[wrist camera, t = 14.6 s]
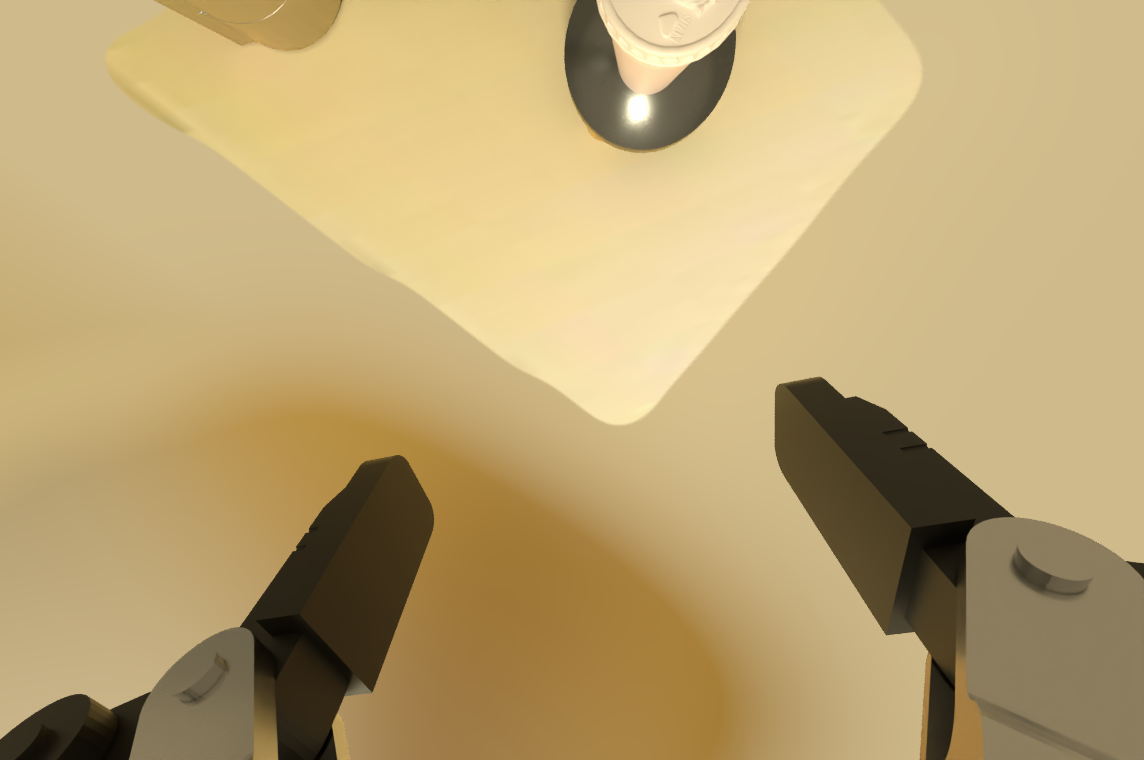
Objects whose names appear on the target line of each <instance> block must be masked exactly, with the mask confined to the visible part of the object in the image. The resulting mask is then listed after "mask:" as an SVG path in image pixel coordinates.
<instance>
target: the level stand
mask: <svg viewBox="0 0 1144 760" xmlns="http://www.w3.org/2000/svg"><path fill="white" fill-rule="evenodd" d="M735 45H736V31H735V29H734V30H733V31H732V32H731V33H730V34H729V35H728V37H727V38H726V39H725V40H724V41H723V42H722V43H721V44H720V46H719V47H717V48H716V49H714V50H713V51H711V52H710V53H709V54H707V55H706V56H704V57H703V58H701V59H700V60H697V61H694V62H691V63H690V64H689V65H688V66H687V67H686V68H685V69H684V70H683V71H682V72H681V73H680V74H679V75H678V76H677V77H676V78H675V79H674V80H673V81H672V82H671V83H670V84H669V85H668V86H667V87H666V88H664V89H663V90H661V91H660V92H657V93H655V94H650V95H643V94H639V93H636V92H634V91H632V90H631V89H630V88H628V87H627V85H626V84H625V83H624V82H623V80H622V78H621V76H620V73H619V69H618V64H617V60H616V55H615V50H614V46H613V41H612V37H611V36H610V34H609V33H608V30H607V28H606V26H605V24H604V22H603V20H602V18H601V16H600V13H599V10H598V5H597V0H577V2H576V4H575V6H574V9H573V11H572V14H571V17H570V20H569V24H568V28H567V33H566V40H565V58H564V60H565V71H566V77H567V82H568V87H569V91H570V94H571V97H572V100H573V103H574V105H575V107H576V110H577V112H578V114H579V115H580V117H581V118H582V120H583V122H584V123H585V124H586V125H587V128H588V130H589V132H590V134H591V135H592V136H593V137H594V138H596V139H597V140H600V141H604V142H606V143H607V144H609V145H611V146H613V147H615V148H618V149H621V150H624V151H629V152H636V153H646V152H654V151H658V150H662V149H665V148H668V147H670V146H672V145H675V144H676V143H678V142H680V141H681V140H683V139H685V138H686V137H687V136H688V135H690V134H691V133H692V132H693V131H694V130H695V129H696V128H697V127H698V126H699V125H700V124H701V123H702V122H703V121H704V120H705V119H706V118H707V117H708V116H709V114H710V113H711V112H712V111H713V109H714V108H715V106H716V105H717V103H718V101H719V100H720V98H721V96H722V94H723V92H724V90H725V88H726V85H727V83H728V80H729V77H730V74H731V70H732V66H733V62H734V55H735Z"/></svg>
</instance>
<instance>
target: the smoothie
mask: <svg viewBox="0 0 1144 760" xmlns="http://www.w3.org/2000/svg"><path fill="white" fill-rule="evenodd" d="M749 1H750V0H597V5H598V10H599V13H600V16H601V18H602V20H603V22H604V24H605V26H606V28H607V30H608V33H609V34H610V36H611V37H612V41H613V46H614V50H615V55H616V60H617V64H618V69H619V73H620V76H621V78H622V80H623V82H624V83H625V84H626V85H627V87H628V88H630V89H631V90H632V91H634V92H636V93H639V94H643V95H650V94H655V93H657V92H660V91H661V90H663V89H664V88H666V87H667V86H668V85H669V84H670V83H671V82H672V81H673V80H674V79H675V78H676V77H677V76H678V75H679V74H680V73H681V72H682V71H683V70H684V69H685V68H686V67H687V66H688V65H689V64H690V63H691V62H694V61H697V60H700V59H701V58H703V57H704V56H706V55H707V54H709V53H710V52H711V51H713V50H714V49H716V48H717V47H719V46H720V44H721V43H722V42H723V41H724V40H725V39H726V38H727V37H728V35H729V34H730V33H731V32H732V31H733V30H734V29H735V27H736V26H737V24H738V22H739V20H740V18H741V17H742V15H743V13H744V11H745V10H746V8H747V6H748V4H749Z"/></svg>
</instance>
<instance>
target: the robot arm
mask: <svg viewBox="0 0 1144 760" xmlns="http://www.w3.org/2000/svg"><path fill="white" fill-rule="evenodd" d="M154 1H156V2H158V3H160V4H162V5H164V6H166V7H168V8H170V9H172V10H174V11H176V12H177V13H179V14H181V15H183V16H185V17H187V18H189V19H191V20H193V21H195V22H197V23H199V24H201V25H203V26H205V27H206V28H208V29H210V30H212V31H214V32H216V33H218V34H220V35H222V36H224V37H226V38H228V39H230V40H232V41H233V42H235V43H237V44H239V45H245V44H247V43H249V42H257V43H260V44H263V45H265V46H268V47H271V48H273V49H279V50H286V51H289V50H297V49H302V48H305V47H307V46H309V45H312V44H314V43H315V42H316V41H317V40H319V39H320V38H321V37H322V36H324V35H325V33H326V32H327V31H328V29H329V28H330V26H331V25H332V24H333V22H334V20H335V17H336V15H337V13H338V10H339V8H340V3H341V0H154ZM775 451H776V456H777V460H778V463H779V466H780V469H781V471H782V473H783V474H784V476H785V478H786V480H787V481H788V483H789V484H790V486H791V487H792V489H793V491H794V492H795V493H796V495H797V497H798V498H799V500H800V501H801V503H802V504H803V506H804V508H805V509H806V511H807V512H808V514H809V516H810V517H811V519H812V520H813V522H814V523H815V525H816V526H817V528H818V530H819V531H820V533H821V534H822V536H823V537H824V539H825V540H826V542H827V544H828V545H829V547H830V548H831V550H832V551H833V553H834V555H835V556H836V558H837V559H838V561H839V562H840V564H841V566H842V567H843V568H844V570H845V572H846V573H847V575H848V576H849V578H850V580H851V581H852V583H853V584H854V586H855V587H856V589H857V591H858V592H859V594H860V595H861V597H862V598H863V600H864V601H865V603H866V604H867V606H868V608H869V609H870V611H871V612H872V614H873V616H874V617H875V618H876V620H877V622H878V623H879V625H880V626H881V628H882V630H883V631H884V633H885V634H886V635H891V634H901V633H908V632H915V633H916V634H917V636H918V637H919V639H920V640H921V642H922V643H923V644H924V646H925V647H926V649H927V650H928V655H927V659H926V669H925V685H924V699H923V715H922V731H921V746H920V760H1144V563H1136V562H1129V561H1124V560H1123V559H1122V558H1121V557H1119V556H1118V555H1117V554H1115V553H1113V552H1112V551H1111V550H1109V549H1107V548H1106V547H1104V546H1102V545H1101V544H1099V543H1097V542H1095V541H1093V540H1091V539H1090V538H1087V537H1085V536H1083V535H1080V534H1078V533H1076V532H1074V531H1071V530H1068V529H1066V528H1063V527H1060V526H1057V525H1053V524H1050V523H1046V522H1042V521H1037V520H1032V519H1025V518H1016V517H1014V516H1013V515H1011V514H1010V513H1009V512H1008V511H1006V510H1005V509H1004V508H1003V507H1002V506H1001V505H999V504H998V503H997V502H996V501H994V500H993V499H992V498H991V497H990V496H989V495H987V494H986V493H985V492H984V491H983V490H981V489H980V488H979V487H978V486H977V485H975V484H974V483H973V482H972V481H971V480H969V479H968V478H967V477H966V476H965V475H963V474H962V473H961V472H960V471H959V470H958V469H956V468H955V467H954V466H953V465H952V464H950V463H949V462H948V461H947V460H945V459H944V458H943V457H942V456H941V455H940V454H938V453H937V452H936V451H935V450H934V449H932V448H928V447H927V444H926V443H925V442H924V441H923V440H922V439H921V438H919V437H918V436H917V435H916V434H915V433H913V432H909V431H908V428H907V427H906V426H905V425H904V424H903V423H901V422H900V421H899V420H898V419H897V418H895V417H894V416H893V415H892V414H891V413H889V412H888V411H887V410H886V409H884V408H881V407H879V406H877V405H875V404H872V403H870V402H868V401H865V400H863V399H861V398H858V397H856V396H855V397H850V398H844V397H843V396H842V395H841V394H840V393H839V392H838V391H837V390H835V389H834V388H833V387H832V386H831V385H830V384H829V383H828V382H827V381H826V380H825V379H823V378H821V377H815V378H809V379H804V380H799V381H793V382H789V383H783V384H779V385H778V386H777V387H776V391H775ZM433 525H434V515H433V509H432V506H431V503H430V501H429V499H428V498H427V496H426V494H425V492H424V490H423V488H422V487H421V485H420V483H419V481H418V479H417V478H416V476H415V474H414V472H413V470H412V469H411V467H410V465H409V463H408V461H407V460H406V459H405V458H404V457H403V456H400V455H396V456H391V457H386V458H380V459H375V460H370V461H366V462H364V463H362V464H361V466H360V467H359V468H358V470H357V471H356V473H355V474H354V476H353V477H352V479H351V480H350V482H349V483H348V485H347V486H346V488H344V489H343V490H342V491H341V492H340V493H339V494H338V495H337V496H336V497H335V498H333V499H332V500H331V501H330V502H329V503H328V504H327V505H326V506H325V507H324V508H323V509H322V511H321V512H320V513H319V515H318V516H317V518H316V519H315V521H314V522H313V524H312V525H311V526H310V528H309V533H305V535H304V536H303V538H302V539H301V541H300V542H299V543H298V545H297V546H296V548H297V550H296V551H293V552H292V554H291V555H290V556H289V558H288V559H287V561H286V562H285V564H284V565H283V567H282V568H281V569H280V571H279V572H278V574H277V575H276V576H275V578H274V579H273V581H272V582H271V583H270V585H269V586H268V588H267V589H266V591H265V592H264V593H263V595H262V596H261V598H260V599H259V601H258V602H257V603H256V605H255V606H254V608H253V609H252V611H251V612H250V613H249V615H248V616H247V618H246V619H245V621H244V622H243V623H242V625H241V626H240V627H237V628H230V629H227V630H224V631H222V632H219V633H217V634H215V635H213V636H211V637H209V638H207V639H206V640H204V641H203V642H201V643H200V644H198V645H197V646H195V647H194V648H193V649H191V650H190V651H189V652H187V653H186V654H185V655H184V656H183V657H182V658H180V659H179V660H178V661H177V662H176V663H175V664H174V665H173V666H172V667H171V668H170V669H169V670H168V671H167V672H166V673H165V675H164V676H163V677H162V678H161V679H160V680H159V682H158V683H157V684H156V686H155V687H154V689H153V690H152V691H151V692H149V693H146V694H144V695H142V696H140V697H138V698H135V699H133V700H131V701H129V702H126V703H124V704H122V705H120V706H117V707H115V708H113V709H111V710H109V709H107V708H106V707H104V706H103V705H101V704H99V703H98V702H96V701H95V700H93V699H91V698H90V697H88V696H87V695H83V694H75V695H71V696H68V697H65V698H62V699H60V700H57V701H56V702H53V703H52V704H50V705H48V706H46V707H45V708H43V709H41V710H39V711H38V712H36V713H34V714H33V715H32V716H30V717H29V718H27V719H26V720H24V721H23V722H22V723H20V724H19V725H18V726H16V727H15V728H14V729H12V730H11V731H10V732H9V733H8V734H6V735H5V736H4V737H3V738H2V739H0V760H351V759H350V753H349V748H348V742H347V737H346V731H345V726H344V723H343V720H342V718H341V717H340V715H339V714H337V712H338V710H339V707H340V705H341V703H342V700H343V698H344V696H351V695H358V694H367V693H372V692H373V689H374V687H375V684H376V681H377V679H378V676H379V673H380V671H381V668H382V665H383V663H384V660H385V657H386V655H387V652H388V649H389V646H390V644H391V641H392V639H393V636H394V633H395V630H396V628H397V625H398V622H399V619H400V617H401V614H402V612H403V609H404V606H405V604H406V601H407V598H408V596H409V593H410V590H411V587H412V584H413V582H414V579H415V577H416V574H417V571H418V569H419V566H420V563H421V561H422V558H423V555H424V553H425V550H426V547H427V544H428V542H429V539H430V536H431V534H432V531H433Z"/></svg>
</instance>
